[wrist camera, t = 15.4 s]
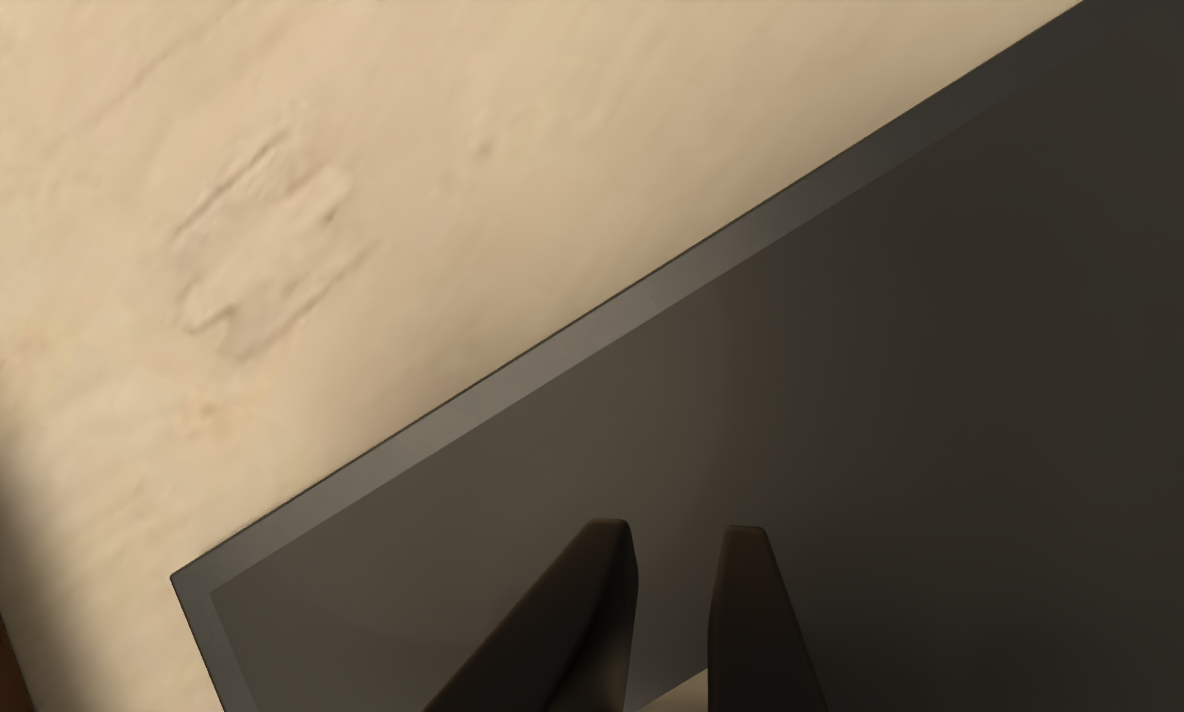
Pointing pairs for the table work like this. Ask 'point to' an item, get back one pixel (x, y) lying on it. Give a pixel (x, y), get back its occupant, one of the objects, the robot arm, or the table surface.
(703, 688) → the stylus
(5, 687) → the dock
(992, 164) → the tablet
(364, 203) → the table surface
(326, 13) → the table surface
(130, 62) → the table surface
